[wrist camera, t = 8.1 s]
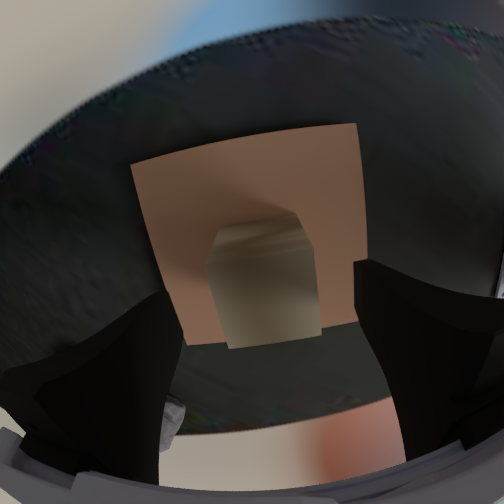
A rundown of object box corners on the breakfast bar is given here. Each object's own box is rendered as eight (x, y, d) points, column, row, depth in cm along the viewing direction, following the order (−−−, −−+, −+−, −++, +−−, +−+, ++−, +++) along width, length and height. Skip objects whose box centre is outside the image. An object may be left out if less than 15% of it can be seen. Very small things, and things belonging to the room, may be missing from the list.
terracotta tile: (344, 124, 15) (356, 123, 13) (357, 302, 19) (366, 319, 17) (144, 161, 16) (130, 164, 14) (192, 327, 20) (187, 345, 18)
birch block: (295, 213, 15) (313, 247, 10) (305, 280, 16) (321, 335, 11) (220, 226, 15) (204, 266, 10) (236, 292, 16) (229, 348, 12)
